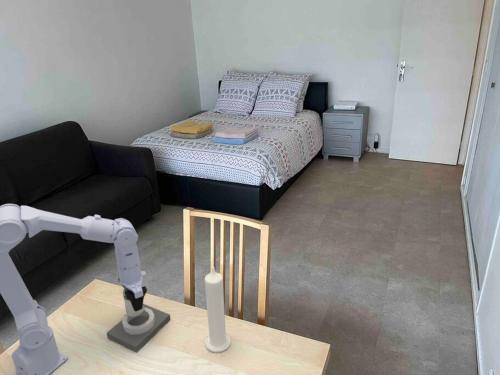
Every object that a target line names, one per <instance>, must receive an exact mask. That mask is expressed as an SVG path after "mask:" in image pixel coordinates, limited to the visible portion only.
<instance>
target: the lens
mask: <svg viewBox="0 0 500 375" xmlns="http://www.w3.org/2000/svg"><path fill="white" fill-rule="evenodd" d="M128 290H129V289H128V288H125V289H124V288H123V291H122V295H123V297H122V298H123V300H124V308H125V315H126V314H127V315H128V316H137V315H140V314H141V313H142V312H143V310H144V307H143V308H142V309H141V310H138V311H136V312H135V311H134V309H133V307H132V304H131V302H130V300H129V299H128V298H127V297H126V296H125V294H124V292H125V291H128Z"/></svg>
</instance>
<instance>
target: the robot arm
mask: <svg viewBox="0 0 500 375" xmlns="http://www.w3.org/2000/svg"><path fill="white" fill-rule="evenodd" d="M42 231H51V232H52V231H53V232H61V233H62V232H63V233H72V234H78V235H80V237H81V238H82V239H83V240H88V241H95V242H101V243H109V244H114V245H113V246H114V256H115V260H116V266H117V271H118V276H119V277H118V278H117V281H118V283H119V284H120V285H121V286H122V287H123V290H124V289H125V288H128V289H129V290H128V291H125V292H124V294H125V296H126V297H127V298H128V299H129V300H130V302H131V304H132V307H133V309H134V311H135V312H136V311H138V310H141V309H142V308H143V304H144V299H145V296H146V294H147V291H148V288H147V286H145V285H144V286H143V280H144V277H147V273H146V271H145V270H142V269H141V262H140V255H139V254H140V253H139V248H138V245H137V242H138V239H139V235H138V233H137V231H136V230H135V228H134V226H133V224H132V223H131V222H130V221H129V220H127V219H126V218H123V217H120V218H115V219H114V220H113V219H109V218H102V217H101V215H99V214H94V215H93V216H91V215H87V216H86V217H83V218H78V217H73V216H68V215H64V214H59V213H56V212H55V213H54V212H50V211H45V210H42V209H37V208H35V207H31V206H28V205H20V206H19V205H18V204H14V203H5V204H2V205H0V296H2V298H3V300H4V302H5V303H6V306H7V308H8V309H9V310H10V312H11V314H12V316H13V319H14V322H15V325H16V330H17V331H18V333H19V345H18V346H17V348H16V349H15V350H14V351H12V353H11V358H12V362H13V364H14V367H15V370H16V371H15V374H16V375H51V373H53V372H54V371H55V370H56V369H57V368H59V367H60V366H61V365H62V364H64V363H65V362H66V361H67V360H68V359H69V358H68V356H67V355H66V354H64V353H61V352H60V351H59V349H58V345H57V342H56V338H55V335H54V331H53V328H52V327H51V326H50V325H48V311H47V310H46V308H45V307H43V306H41V305H39V303H38V302H37V300H35V299H33V297H32V295H31V293H30V292H29V289H28V288H27V286H26V284H25V282H24V280H23V278H22V276H21V274H20V273H19V271H18V270H17V267H16V265H15V263H14V262H13V260H12V257H11V256H10V254H9V252H10V251H11V250H12V249H14V248H15V247H16V246H17V245H19V244H20V243H21V242H22V241H23V240H24V239H25V238H26V235H27V234H28V238H32V237H34V236H35V235H37V234H38V233H40V232H42Z"/></svg>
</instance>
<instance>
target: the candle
mask: <svg viewBox="0 0 500 375" xmlns="http://www.w3.org/2000/svg"><path fill="white" fill-rule="evenodd" d="M210 269H211V270H210V273H208V274H206V275H205V277H204V286H205V300H206V313H207V324H208V325H207V326H208V335H207V337H206V338H205V340H204V345H205V346H204V347H205V348H206V349H207V350H208V352H211V353H216V354H217V353H220V354H221V353H223V352H225V351H227V350H228V349H229V348H230V346H231V345H232V344H231V343H232V342H231V337H230V335H229V334H228V333H226V315H225V298H224V297H225V296H224V281H223V275H222V274H221V273H219V272H216V269H215V267H214V266H212V267H211V268H210Z"/></svg>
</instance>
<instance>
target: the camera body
mask: <svg viewBox="0 0 500 375" xmlns="http://www.w3.org/2000/svg"><path fill="white" fill-rule="evenodd" d="M143 307H144V310H143V312H142V313H141V314H140V315H137V316H128V315H127V314H126V313H125V314H124V315H123V318H122V319H121V320H120V321H119V322H118V323H116V324H115V325H114V326H113V327H111V329H109V330H108V331H107V332H106V336H107V339H108V340H110V341H113V342H114V343H117V344H119V345H120V346H123V347H125V348H126V349H128V350H130V351H133V352H135V353H138V352H139V351H140V350H142V348H143V347H145V345H147V343H148V342H150V341H151V339H153V338H154V336H156V334H158V333H159V332H160V331H161V330H162V329H163V328H164V327H165V326H166V324H168V323H169V322H170V321H171V314H170V313H168V312H165V311H163V310H160V309H158V308H155V307H153V306H150V305H148V304H145V303H143Z"/></svg>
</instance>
